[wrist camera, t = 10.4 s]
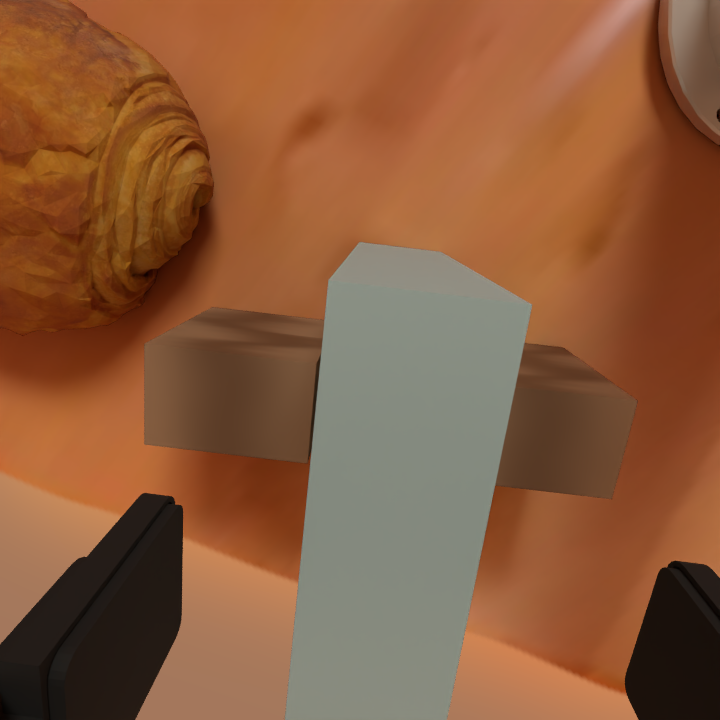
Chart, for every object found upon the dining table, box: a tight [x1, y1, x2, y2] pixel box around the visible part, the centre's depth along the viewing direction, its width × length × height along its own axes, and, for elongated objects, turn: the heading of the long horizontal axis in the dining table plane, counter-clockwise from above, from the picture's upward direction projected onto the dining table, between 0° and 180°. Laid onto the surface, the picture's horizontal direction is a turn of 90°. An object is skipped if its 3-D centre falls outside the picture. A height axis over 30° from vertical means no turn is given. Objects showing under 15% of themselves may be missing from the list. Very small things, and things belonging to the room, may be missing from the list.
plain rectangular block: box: [285, 242, 532, 720], centre depth 20 cm, size 12×4×16 cm, turn 173°
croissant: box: [0, 0, 214, 336], centre depth 23 cm, size 14×16×8 cm
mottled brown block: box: [144, 307, 638, 499], centre depth 23 cm, size 18×4×8 cm, turn 84°
